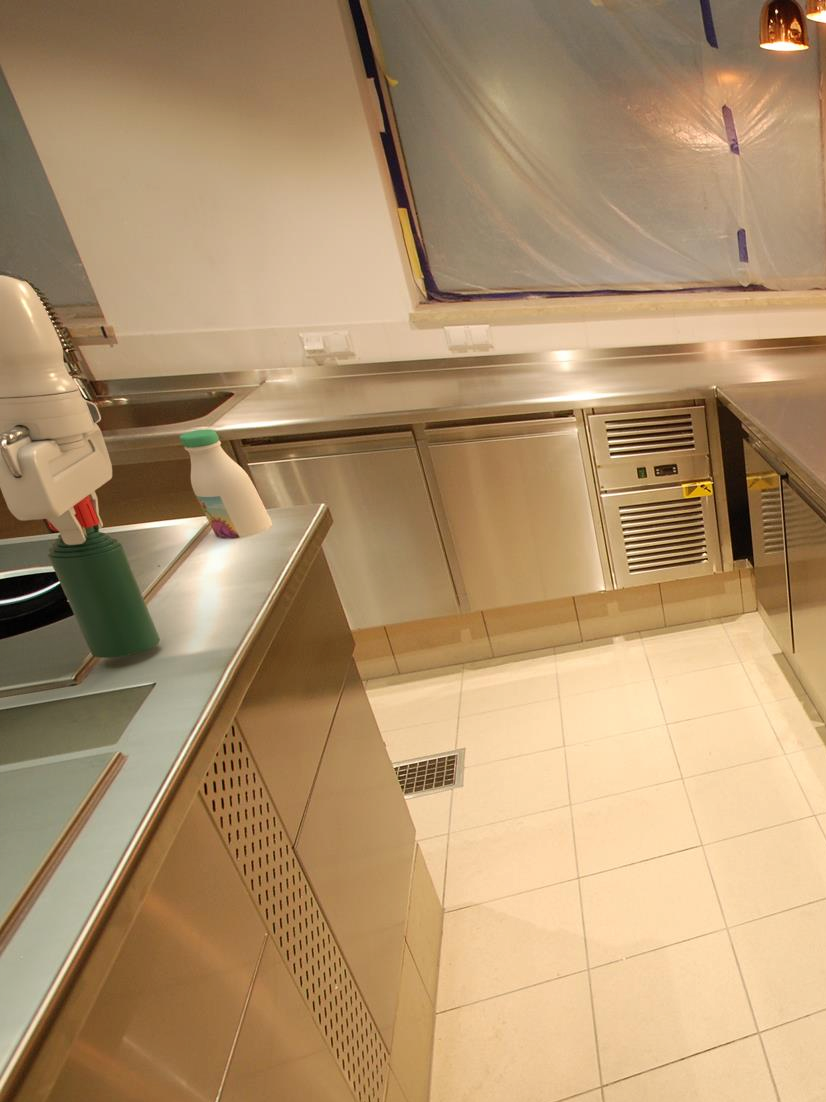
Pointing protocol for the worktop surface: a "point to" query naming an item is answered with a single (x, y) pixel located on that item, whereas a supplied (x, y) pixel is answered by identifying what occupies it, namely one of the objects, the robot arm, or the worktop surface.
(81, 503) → the cap
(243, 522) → the milk bottle
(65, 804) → the worktop surface
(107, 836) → the worktop surface
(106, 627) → the bottle
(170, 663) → the worktop surface
